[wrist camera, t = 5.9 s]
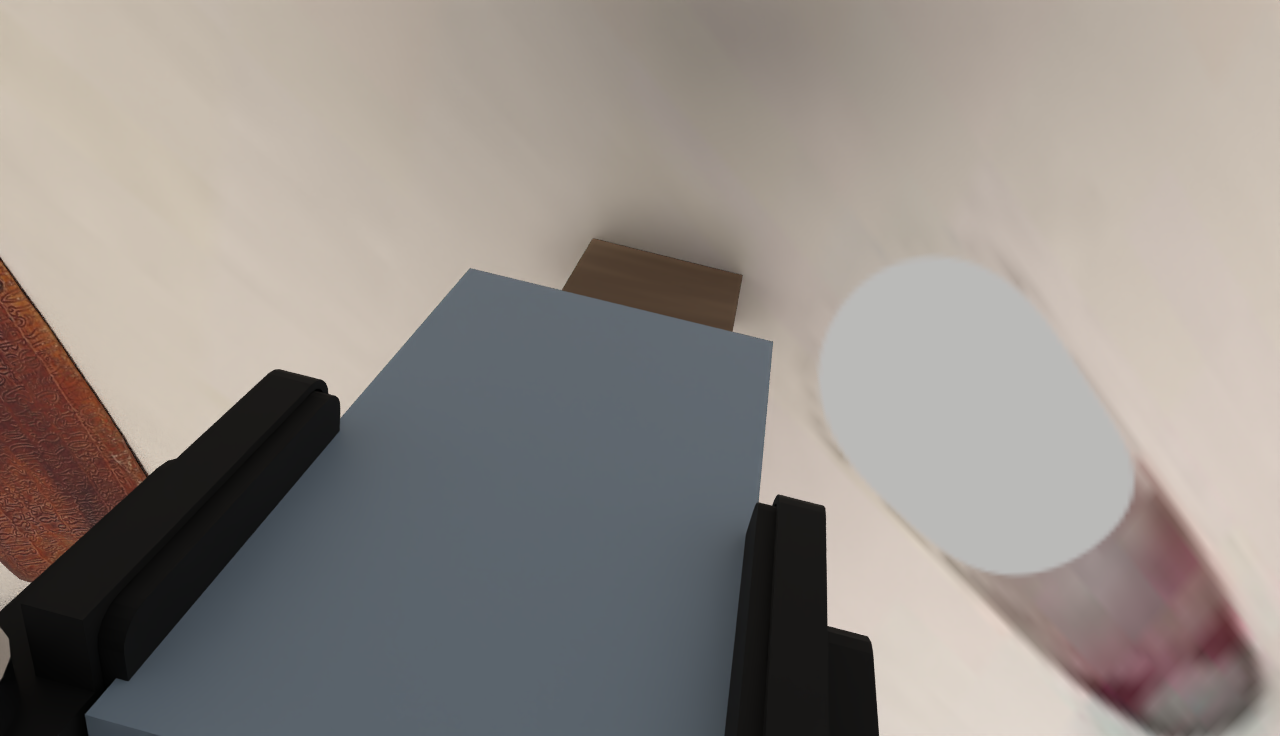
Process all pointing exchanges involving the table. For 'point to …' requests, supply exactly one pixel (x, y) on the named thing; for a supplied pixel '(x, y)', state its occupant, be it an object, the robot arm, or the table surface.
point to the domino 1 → (492, 541)
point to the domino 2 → (656, 284)
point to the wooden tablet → (50, 444)
